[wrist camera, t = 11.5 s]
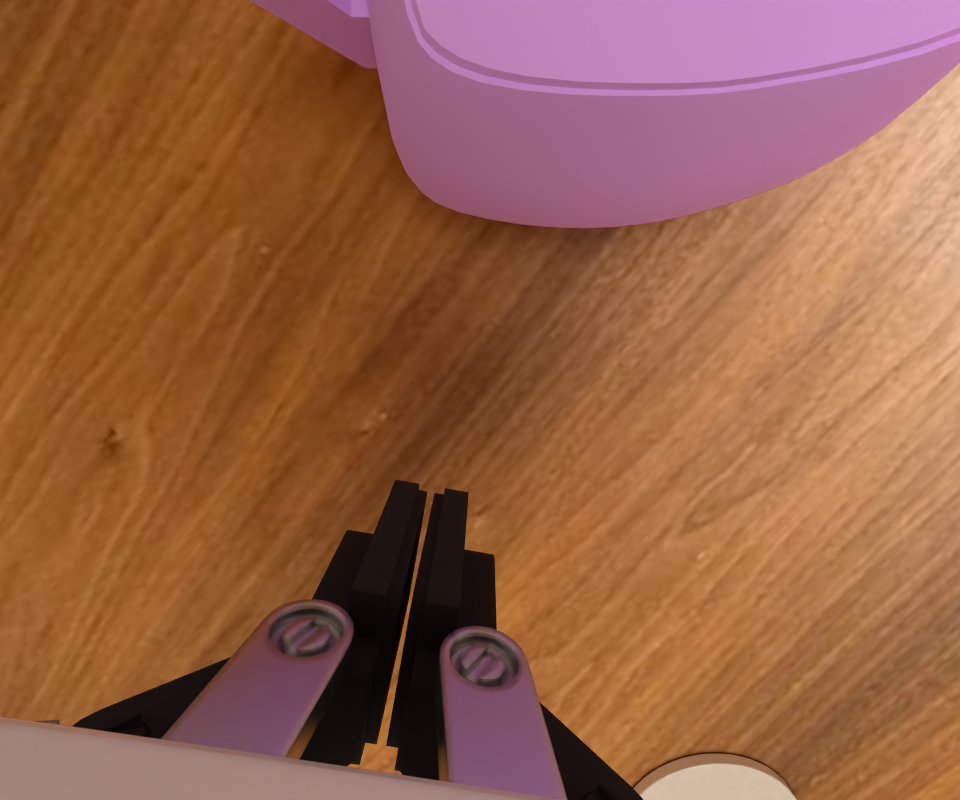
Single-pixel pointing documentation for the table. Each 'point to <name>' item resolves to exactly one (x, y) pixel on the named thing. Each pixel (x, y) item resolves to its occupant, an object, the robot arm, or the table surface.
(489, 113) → the teapot
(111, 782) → the robot arm
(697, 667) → the table surface
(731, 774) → the coaster
